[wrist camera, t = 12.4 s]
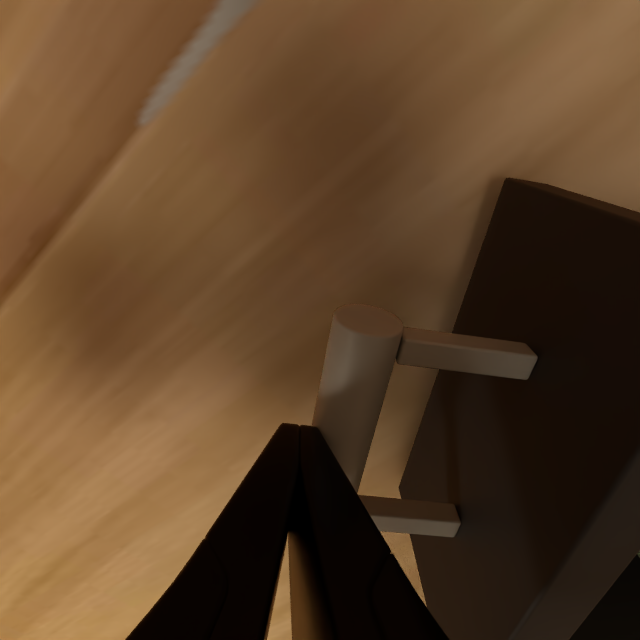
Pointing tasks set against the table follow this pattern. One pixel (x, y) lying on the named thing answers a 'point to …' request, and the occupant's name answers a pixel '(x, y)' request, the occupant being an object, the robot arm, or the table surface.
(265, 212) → the table surface
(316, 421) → the drawer
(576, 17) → the table surface
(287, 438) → the robot arm
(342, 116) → the table surface
